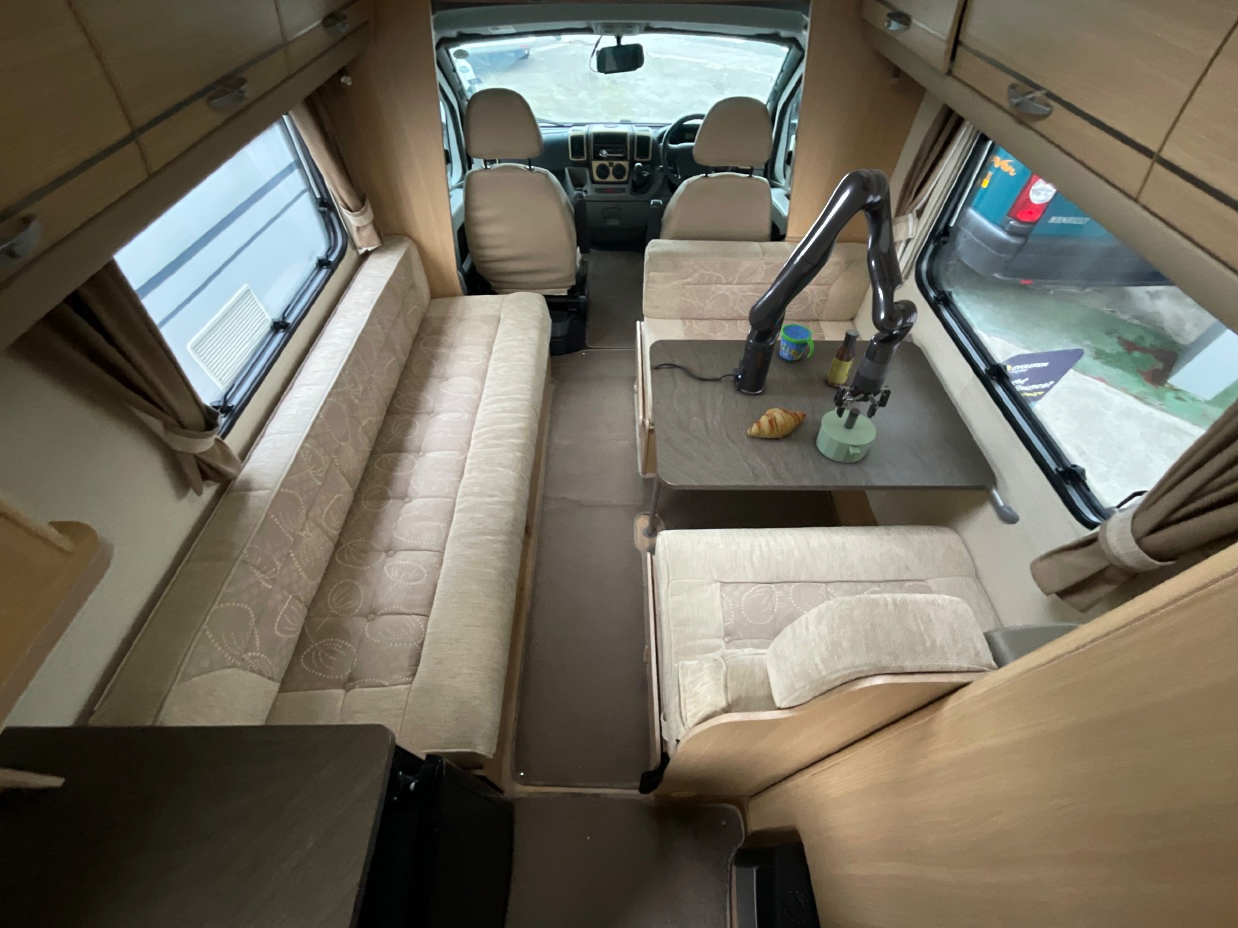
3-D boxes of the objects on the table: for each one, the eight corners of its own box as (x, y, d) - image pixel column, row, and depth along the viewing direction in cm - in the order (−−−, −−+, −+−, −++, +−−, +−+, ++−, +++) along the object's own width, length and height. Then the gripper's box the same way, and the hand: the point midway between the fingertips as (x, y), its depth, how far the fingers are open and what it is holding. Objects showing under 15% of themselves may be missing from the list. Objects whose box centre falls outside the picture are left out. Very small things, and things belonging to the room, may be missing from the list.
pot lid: (827, 446, 160) (834, 428, 155) (815, 411, 171) (822, 393, 166) (881, 448, 160) (890, 430, 155) (866, 413, 171) (874, 394, 166)
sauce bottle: (846, 388, 190) (866, 338, 176) (828, 388, 190) (846, 338, 176) (841, 377, 195) (860, 327, 181) (823, 376, 195) (841, 327, 181)
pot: (824, 468, 163) (831, 450, 158) (809, 423, 177) (816, 405, 172) (873, 470, 163) (883, 452, 158) (855, 424, 177) (863, 406, 172)
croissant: (750, 451, 173) (761, 442, 165) (736, 422, 175) (747, 412, 167) (805, 431, 179) (818, 422, 171) (791, 404, 181) (804, 393, 174)
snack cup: (816, 361, 201) (824, 337, 194) (796, 371, 197) (803, 347, 189) (784, 341, 210) (790, 317, 203) (764, 350, 205) (770, 326, 198)
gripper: (894, 363, 153) (874, 408, 164) (842, 361, 153) (826, 407, 165) (903, 379, 148) (882, 425, 159) (849, 378, 148) (832, 424, 159)
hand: (853, 416), depth 162 cm, fingers open, 8 cm apart
